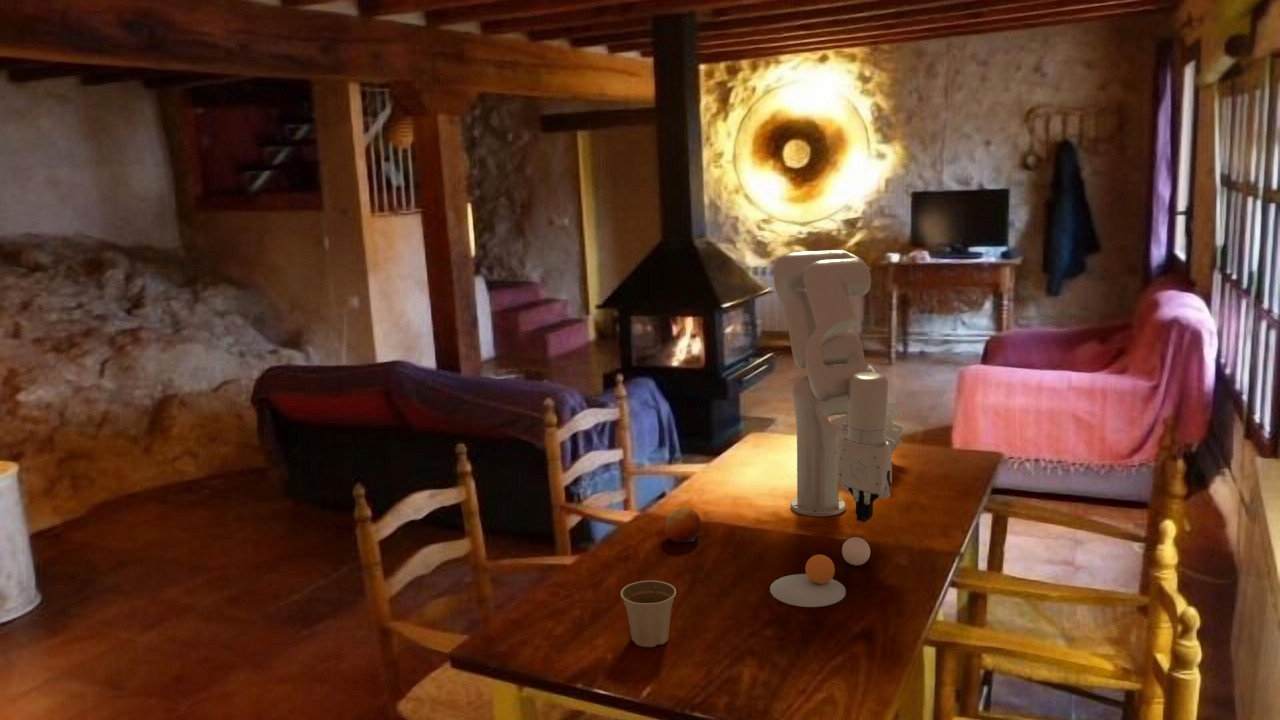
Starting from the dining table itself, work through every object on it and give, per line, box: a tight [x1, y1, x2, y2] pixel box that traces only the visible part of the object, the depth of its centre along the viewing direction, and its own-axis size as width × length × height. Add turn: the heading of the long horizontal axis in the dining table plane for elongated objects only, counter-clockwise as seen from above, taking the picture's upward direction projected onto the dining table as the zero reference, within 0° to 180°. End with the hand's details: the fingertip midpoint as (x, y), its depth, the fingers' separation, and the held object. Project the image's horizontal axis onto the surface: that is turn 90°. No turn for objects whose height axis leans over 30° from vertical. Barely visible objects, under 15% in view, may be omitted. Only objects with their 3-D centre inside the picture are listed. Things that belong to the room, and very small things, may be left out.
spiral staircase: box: [829, 398, 904, 459], centre depth 249 cm, size 18×18×25 cm
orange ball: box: [804, 554, 836, 584], centre depth 181 cm, size 6×6×6 cm
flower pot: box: [620, 580, 677, 648], centre depth 162 cm, size 9×9×9 cm
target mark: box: [769, 573, 847, 608], centre depth 179 cm, size 14×14×1 cm
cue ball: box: [841, 536, 871, 566], centre depth 189 cm, size 6×6×6 cm
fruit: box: [663, 506, 702, 544], centre depth 206 cm, size 8×8×8 cm
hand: (863, 519), depth 195 cm, fingers closed
